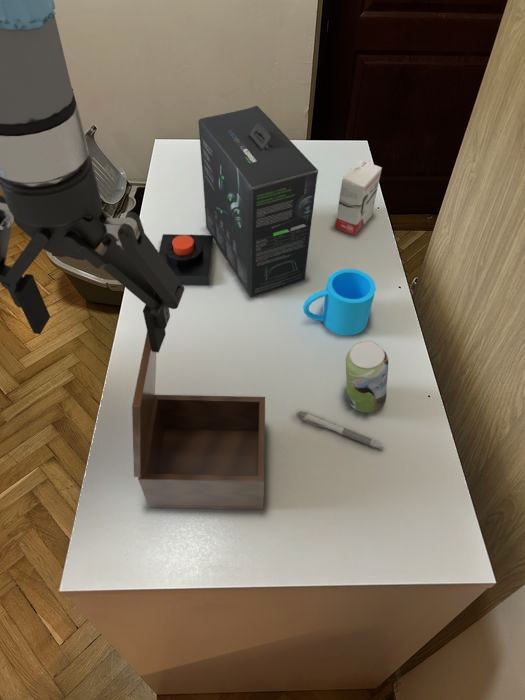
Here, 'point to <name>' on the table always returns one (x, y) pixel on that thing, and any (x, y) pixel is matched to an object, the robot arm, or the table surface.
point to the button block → (189, 259)
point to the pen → (338, 429)
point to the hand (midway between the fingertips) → (100, 334)
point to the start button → (183, 245)
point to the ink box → (357, 197)
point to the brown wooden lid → (143, 405)
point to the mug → (345, 302)
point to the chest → (205, 452)
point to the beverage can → (366, 376)
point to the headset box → (257, 198)
